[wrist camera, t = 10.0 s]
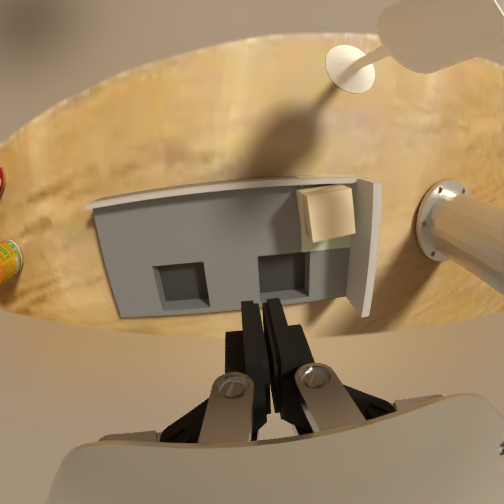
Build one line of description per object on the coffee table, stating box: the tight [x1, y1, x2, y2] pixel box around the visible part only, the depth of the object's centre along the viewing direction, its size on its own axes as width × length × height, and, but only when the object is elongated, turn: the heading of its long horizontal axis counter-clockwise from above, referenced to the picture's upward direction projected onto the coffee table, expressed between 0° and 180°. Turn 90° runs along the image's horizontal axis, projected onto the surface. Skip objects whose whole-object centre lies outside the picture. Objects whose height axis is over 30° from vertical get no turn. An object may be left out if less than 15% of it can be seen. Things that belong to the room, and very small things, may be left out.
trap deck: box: [86, 174, 382, 318], centre depth 29 cm, size 30×15×8 cm, turn 94°
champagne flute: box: [326, 0, 504, 93], centre depth 15 cm, size 7×7×24 cm
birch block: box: [295, 184, 356, 243], centre depth 27 cm, size 4×4×4 cm
